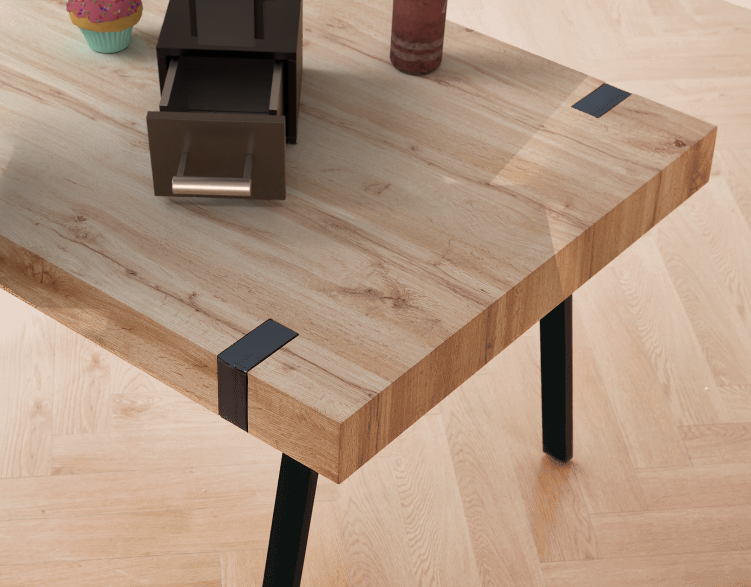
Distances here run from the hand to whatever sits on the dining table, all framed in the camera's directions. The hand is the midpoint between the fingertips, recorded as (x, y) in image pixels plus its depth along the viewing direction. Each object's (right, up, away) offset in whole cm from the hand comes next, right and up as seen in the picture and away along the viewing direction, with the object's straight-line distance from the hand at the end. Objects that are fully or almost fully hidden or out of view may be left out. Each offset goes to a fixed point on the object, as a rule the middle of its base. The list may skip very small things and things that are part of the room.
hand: (229, 30), depth 97 cm
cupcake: (-18, +6, +30) cm, 36 cm away
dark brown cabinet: (-2, -3, +22) cm, 22 cm away
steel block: (0, 0, 0) cm, 0 cm away
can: (+18, +3, +30) cm, 35 cm away
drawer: (-2, -12, +10) cm, 16 cm away
